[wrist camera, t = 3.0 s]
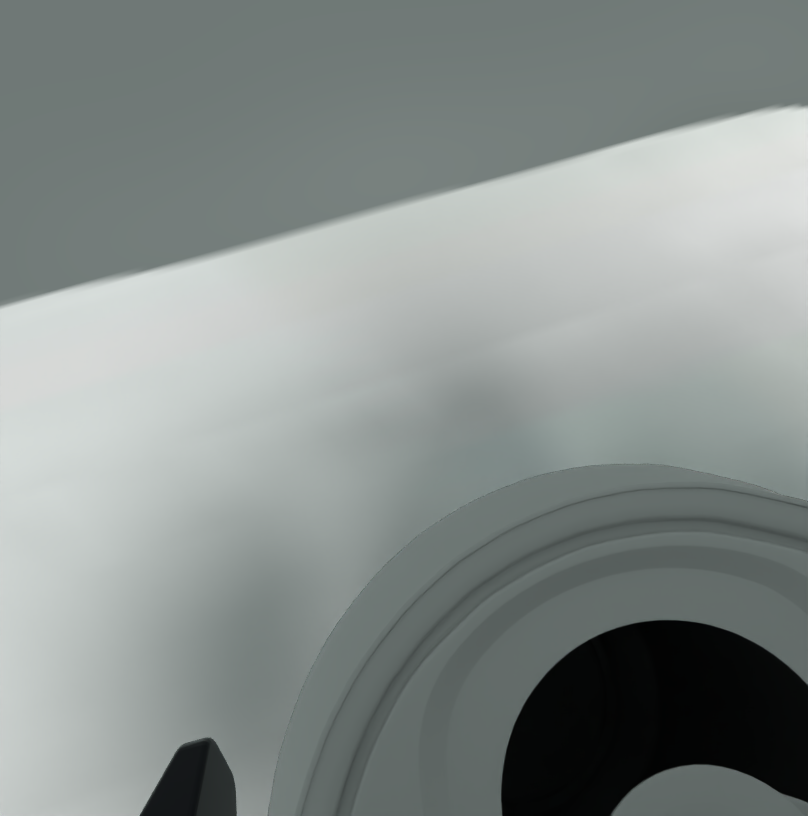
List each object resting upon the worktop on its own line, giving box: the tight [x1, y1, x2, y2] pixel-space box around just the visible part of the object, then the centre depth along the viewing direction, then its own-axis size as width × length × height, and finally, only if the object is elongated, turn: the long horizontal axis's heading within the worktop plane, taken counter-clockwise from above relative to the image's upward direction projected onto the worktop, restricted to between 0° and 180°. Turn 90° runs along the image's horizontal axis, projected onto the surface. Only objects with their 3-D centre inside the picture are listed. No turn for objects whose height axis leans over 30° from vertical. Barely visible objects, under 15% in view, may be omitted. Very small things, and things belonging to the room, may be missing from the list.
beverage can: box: [268, 464, 808, 816], centre depth 10 cm, size 6×6×12 cm
